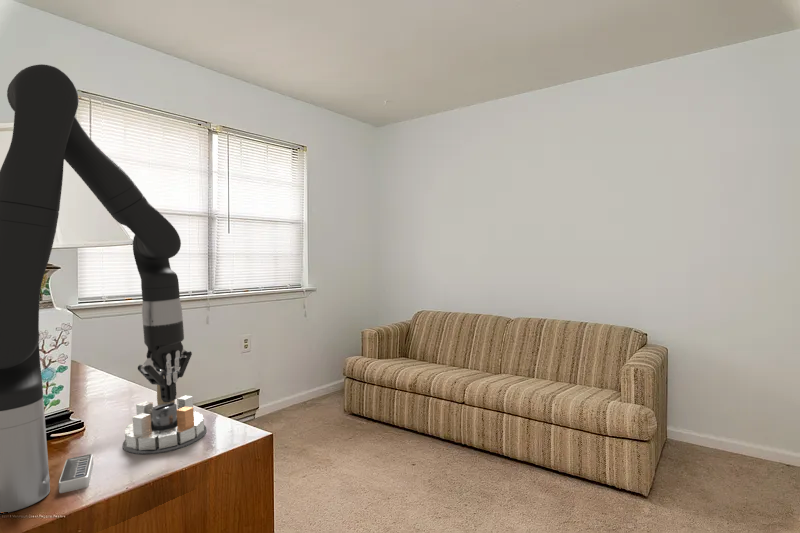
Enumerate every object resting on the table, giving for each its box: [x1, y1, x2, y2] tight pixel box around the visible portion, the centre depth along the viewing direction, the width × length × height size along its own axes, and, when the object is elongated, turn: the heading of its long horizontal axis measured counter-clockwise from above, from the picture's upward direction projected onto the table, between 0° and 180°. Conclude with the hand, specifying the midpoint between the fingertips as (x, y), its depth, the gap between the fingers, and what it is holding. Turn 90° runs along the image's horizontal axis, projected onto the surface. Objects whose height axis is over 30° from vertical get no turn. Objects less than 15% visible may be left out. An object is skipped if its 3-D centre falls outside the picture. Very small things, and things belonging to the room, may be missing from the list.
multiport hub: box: [58, 453, 94, 494], centre depth 90 cm, size 4×11×2 cm, turn 29°
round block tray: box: [124, 395, 205, 450], centre depth 107 cm, size 16×16×6 cm
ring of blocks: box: [122, 402, 207, 455], centre depth 107 cm, size 17×17×7 cm
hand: (169, 400), depth 100 cm, fingers closed
